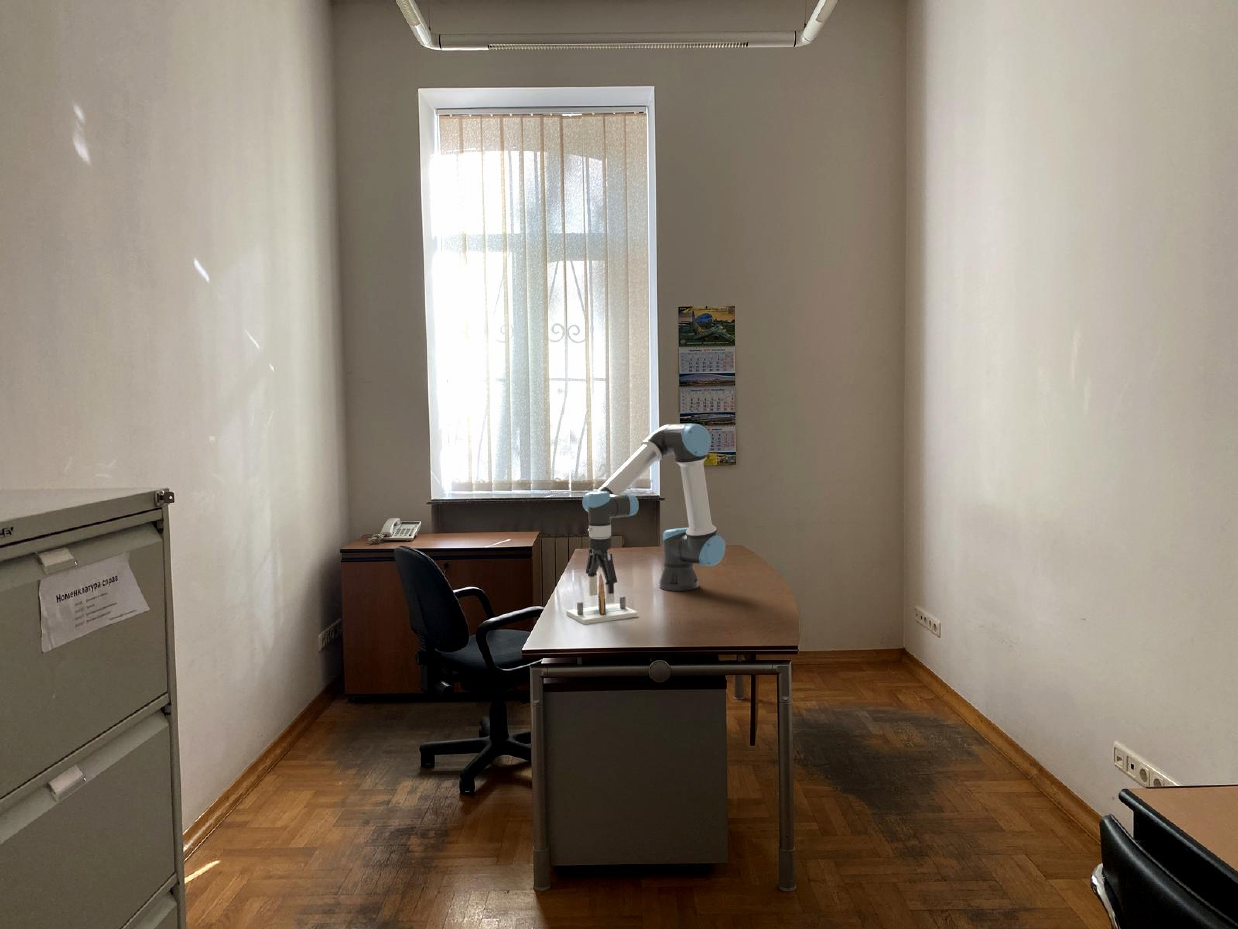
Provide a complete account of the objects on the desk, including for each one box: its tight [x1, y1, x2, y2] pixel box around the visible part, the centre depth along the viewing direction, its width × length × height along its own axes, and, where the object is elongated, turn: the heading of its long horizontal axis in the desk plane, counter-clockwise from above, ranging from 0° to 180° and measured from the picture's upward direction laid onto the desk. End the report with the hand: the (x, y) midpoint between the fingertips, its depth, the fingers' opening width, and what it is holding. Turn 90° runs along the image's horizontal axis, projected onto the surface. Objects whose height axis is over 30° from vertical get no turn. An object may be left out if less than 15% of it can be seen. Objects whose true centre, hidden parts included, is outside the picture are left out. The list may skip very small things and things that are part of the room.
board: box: [565, 595, 639, 625], centre depth 293 cm, size 20×15×6 cm
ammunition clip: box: [597, 573, 606, 615], centre depth 293 cm, size 11×2×12 cm, turn 4°
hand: (601, 599), depth 293 cm, fingers open, 13 cm apart
